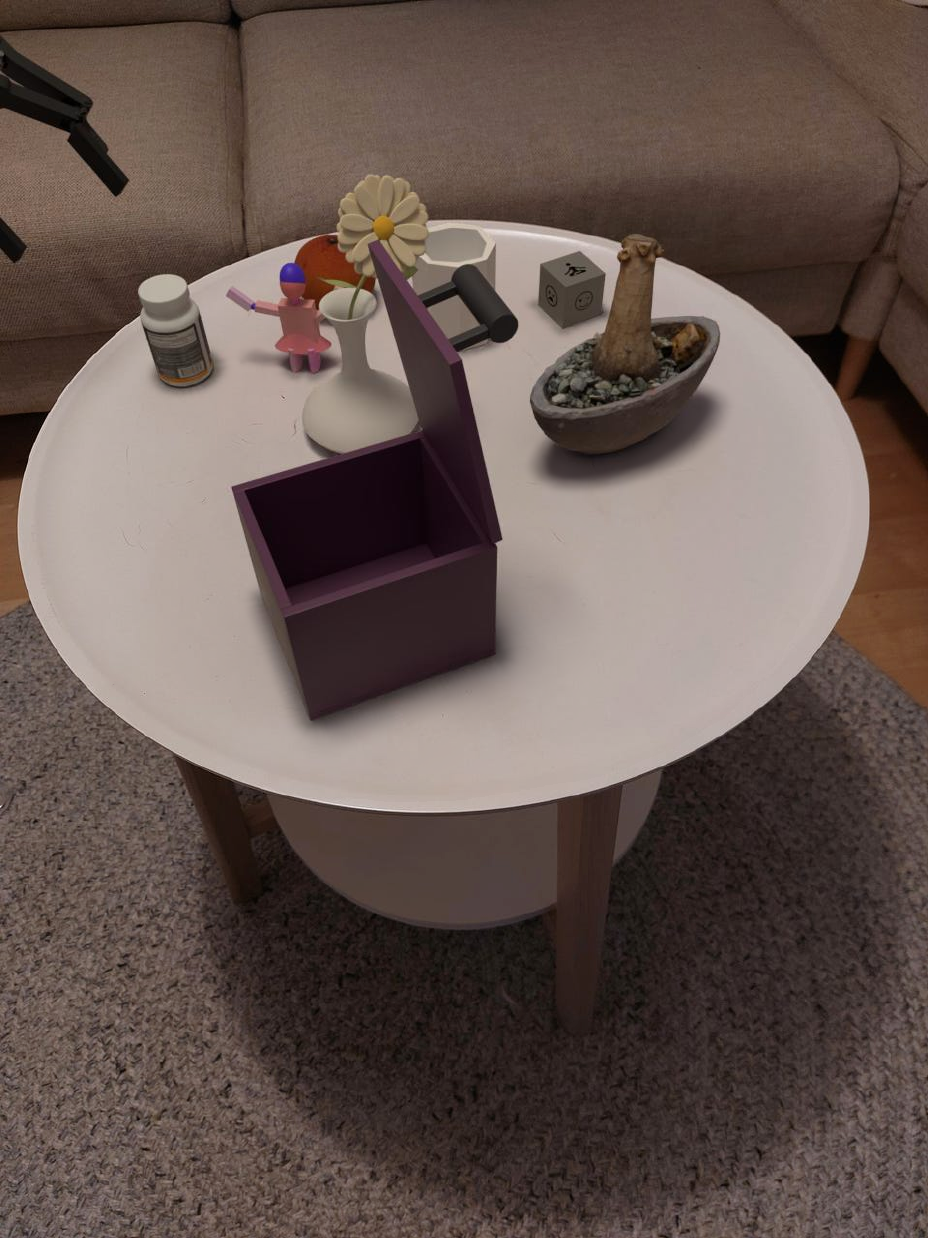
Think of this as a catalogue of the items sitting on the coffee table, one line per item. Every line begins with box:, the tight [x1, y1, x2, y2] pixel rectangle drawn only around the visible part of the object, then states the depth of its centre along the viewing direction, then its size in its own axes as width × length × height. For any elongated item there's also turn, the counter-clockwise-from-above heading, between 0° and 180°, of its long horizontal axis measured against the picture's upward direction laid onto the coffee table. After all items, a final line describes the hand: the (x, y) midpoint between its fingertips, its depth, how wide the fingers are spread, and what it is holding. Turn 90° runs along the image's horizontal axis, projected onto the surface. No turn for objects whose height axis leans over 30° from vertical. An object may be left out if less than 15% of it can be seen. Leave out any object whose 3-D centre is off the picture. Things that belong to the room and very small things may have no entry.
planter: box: [529, 233, 721, 455], centre depth 87 cm, size 15×17×20 cm
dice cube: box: [537, 250, 607, 329], centre depth 105 cm, size 5×5×5 cm
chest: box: [230, 429, 498, 721], centre depth 76 cm, size 16×14×13 cm
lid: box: [368, 240, 519, 544], centre depth 66 cm, size 16×14×6 cm
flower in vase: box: [301, 173, 429, 454], centre depth 86 cm, size 13×11×25 cm
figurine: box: [225, 262, 344, 374], centre depth 98 cm, size 3×12×11 cm, turn 87°
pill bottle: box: [137, 273, 214, 387], centre depth 98 cm, size 6×6×10 cm
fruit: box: [293, 234, 377, 311], centre depth 106 cm, size 9×9×8 cm
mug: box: [411, 221, 497, 352], centre depth 103 cm, size 12×9×10 cm
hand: (73, 220), depth 94 cm, fingers open, 13 cm apart
